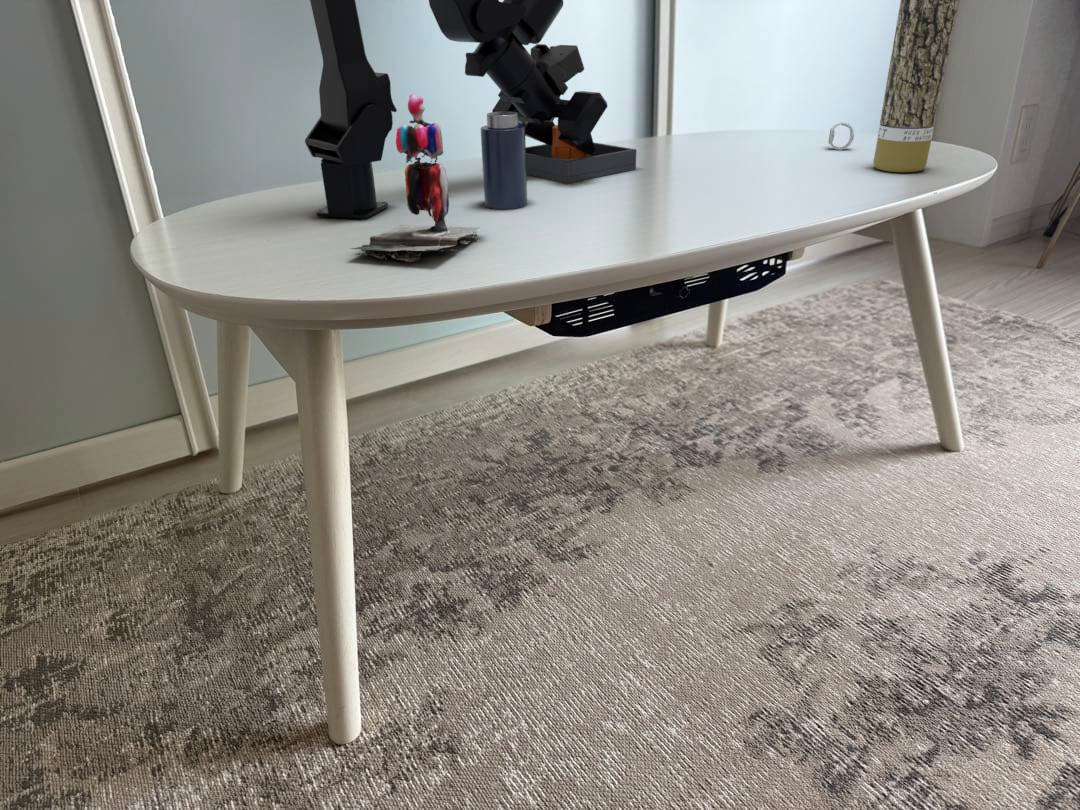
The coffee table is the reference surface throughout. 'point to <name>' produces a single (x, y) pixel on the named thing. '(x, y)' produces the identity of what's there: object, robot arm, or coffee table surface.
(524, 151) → the spray can
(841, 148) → the grey ring
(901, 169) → the paper tube
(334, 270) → the coffee table surface
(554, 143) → the spray can cap
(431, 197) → the statue
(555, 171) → the tray
